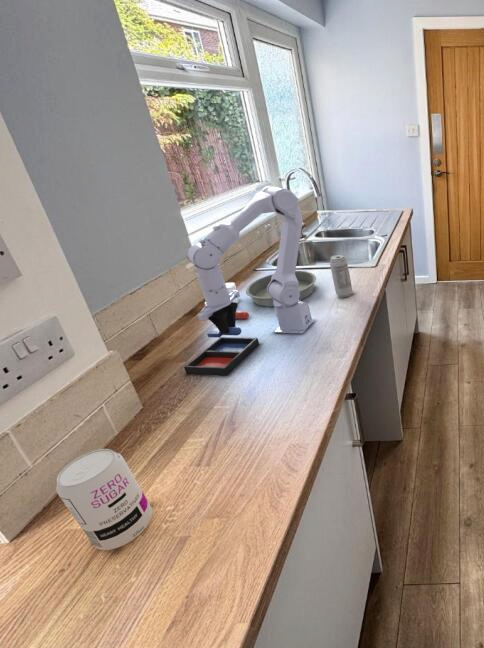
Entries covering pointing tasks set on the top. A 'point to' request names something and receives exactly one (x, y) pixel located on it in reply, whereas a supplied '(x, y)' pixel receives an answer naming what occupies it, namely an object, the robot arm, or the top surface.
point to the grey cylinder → (341, 275)
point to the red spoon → (242, 315)
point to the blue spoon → (217, 333)
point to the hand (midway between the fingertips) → (228, 330)
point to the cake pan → (260, 286)
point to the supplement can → (104, 498)
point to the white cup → (231, 289)
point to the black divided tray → (222, 356)
